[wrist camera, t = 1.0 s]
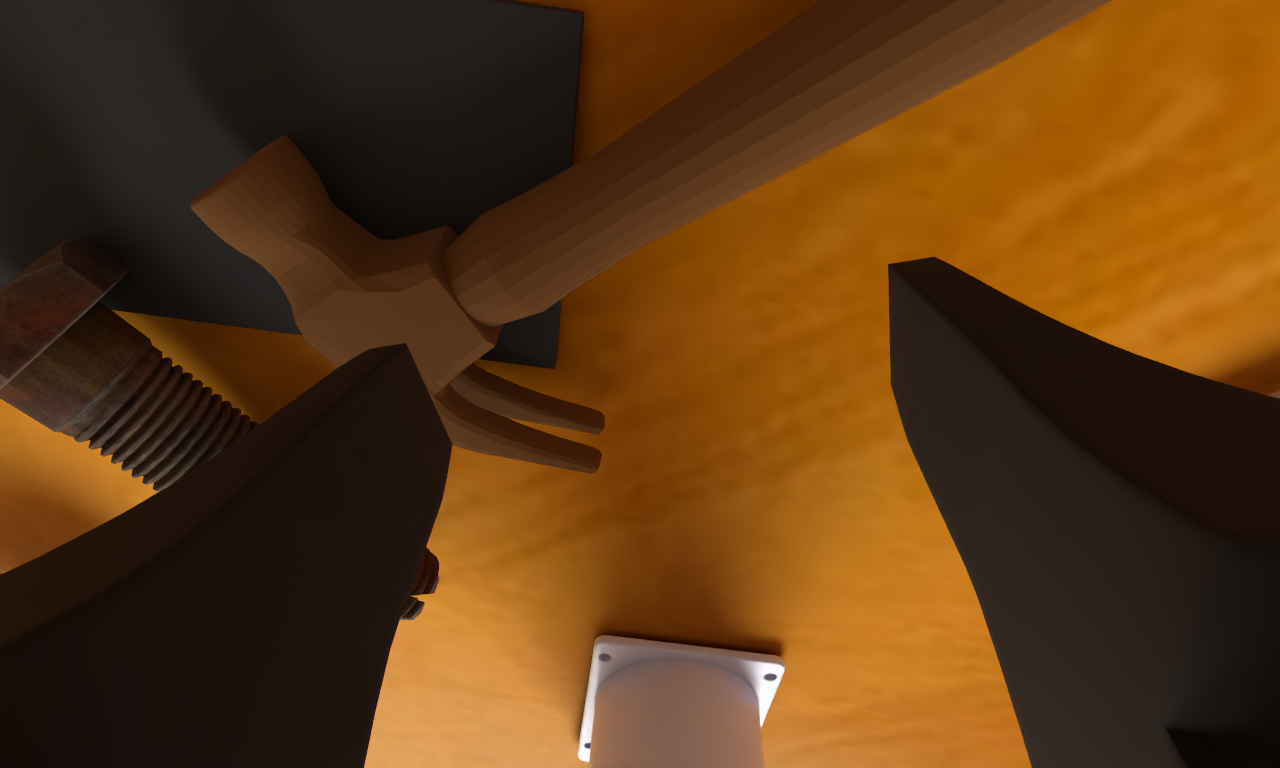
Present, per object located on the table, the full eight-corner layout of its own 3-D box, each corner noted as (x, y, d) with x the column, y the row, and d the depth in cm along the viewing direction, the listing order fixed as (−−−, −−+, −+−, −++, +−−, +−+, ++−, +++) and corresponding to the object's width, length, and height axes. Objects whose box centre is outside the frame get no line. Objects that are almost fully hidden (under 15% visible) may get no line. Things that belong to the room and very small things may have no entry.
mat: (556, 362, 23) (555, 369, 23) (-69, 278, 22) (-80, 284, 22) (584, 11, 17) (582, 14, 17) (-257, -118, 17) (-275, -117, 16)
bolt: (424, 521, 30) (65, 248, 23) (493, 531, 26) (92, 210, 19) (334, 656, 27) (-111, 397, 20) (397, 689, 24) (-119, 385, 16)
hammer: (1739, -873, 10) (225, 173, 20) (2095, -1110, 8) (159, 222, 17) (1607, -33, 16) (492, 464, 25) (1786, -9, 14) (473, 533, 23)
